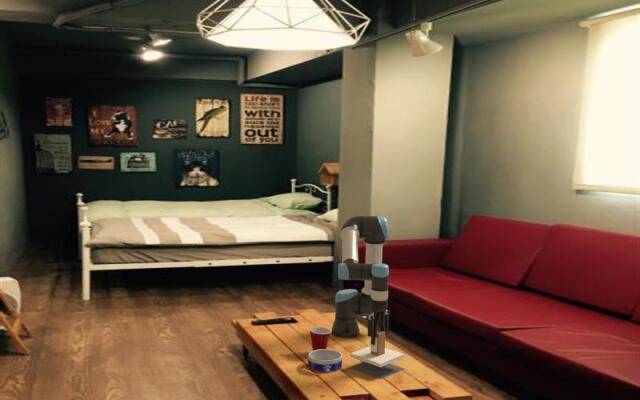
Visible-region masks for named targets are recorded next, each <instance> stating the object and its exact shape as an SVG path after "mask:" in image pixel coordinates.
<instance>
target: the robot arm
mask: <svg viewBox="0 0 640 400" xmlns="http://www.w3.org/2000/svg"><path fill="white" fill-rule="evenodd" d="M388 225H389V224H388V219H387V217H385V216H378V215H376V216H375V215H354V216H351V217H350V218H348V219H347V220H346V221H344V223H343V224H342V226H341V228H340V233H339V236H340V239H341V242H342V244H341V245H342V246H341V247H342V248H341V249H342V250H341V251H342V253H341V255H342V256H341V257H342V258H341V260H342V263H341V262H339V263H338V264H337V265H338V268H337V269H338V271H337V272H338V274H337V275H338V277H337V278H338V279H339V280H345V281H364V287H363V288H362V289H361V292H358V290H357V289H352V288H348V289H347V288H346V289H342V290H339V291H337V292H336V294H335V299H334V302H335V305H334V306H335V307H334V309H335V311H334V321H333V324H332V326H331V329H330V330H331V331H332V332H331V333H330V334H331V335H333V336H334V337H338V338H347V339H349V338H356V337H358V336H360V334H361V333H360V331H361V330H360V327H359V324H358V319H357V318H358V317H357V316H367V317H366V318H367V337H369V338H370V346H371V351H373V352H377V338H376V335H377V330H380V331H384V332H385V336H387V335H388V333H389V330H390V328H389V327H390V314H391V310H389V309H387V308H388V307H389V305H388V304H389V303H388V299H389V275H390V271H389V270H390V269H389V265H388V264H386V263H383V246H384V245H385V244H386V243H387V240H388V239H390V237H389V236H390V235H389V234H390V233H389V226H388ZM359 239H363V240H362V241H363V243H364V244H365V263H359V247H358V241H359ZM378 327H379V329H378Z"/></svg>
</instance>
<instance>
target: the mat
mask: <svg viewBox="0 0 640 400" xmlns="http://www.w3.org/2000/svg"><path fill="white" fill-rule="evenodd" d="M349 369H350V370H353V371H355V372H358V373H361V374H365V375H367V376H370V377H372V378H375V379H378V380H383V379H385V378H387V377H390V376H392V375H394V374H397V373H400V372H402V371H404V370H406V368H404V367H401V366H398V365H395V364H392V363H390V364H387V365H385V366H383V367H378V366H376V365H373V364H370V363H367V362H364V361H363V362H361V363H359V364H356V365H353V366H351V367H349Z"/></svg>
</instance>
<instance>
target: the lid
mask: <svg viewBox="0 0 640 400" xmlns="http://www.w3.org/2000/svg"><path fill="white" fill-rule="evenodd" d="M376 338H377V352H373V351H371V345H369V346H367V347H364V348H361V349H359V350H356V351H353V352H351V353H350V358H354V359H357V360H359V361H361V362H363V363H364V362H367V363H370V364H373V365H376V366H378V367H383V366H385V365H387V364H392V363H394V362H397V361H399V360H402V359H403V358H405V353H402V352H399V351H396V350H394V349H390V348H387V347H386V335H385V332H384V331H380V329H377V335H376Z"/></svg>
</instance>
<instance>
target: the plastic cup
mask: <svg viewBox="0 0 640 400" xmlns="http://www.w3.org/2000/svg"><path fill="white" fill-rule="evenodd" d="M308 330H309V334H310V340H311V348H312V351H314V350H319V349H328V348H327V347H328V342H329V338H330V334H332V333H331V332H332V331H331V330H332V329H329V328H327V327H321V326H313V327H310V328H309V329H308Z"/></svg>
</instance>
